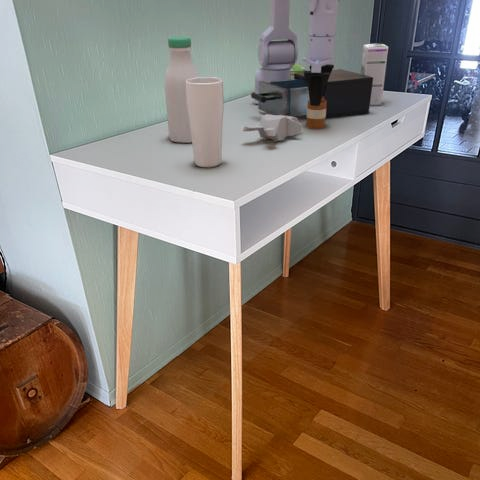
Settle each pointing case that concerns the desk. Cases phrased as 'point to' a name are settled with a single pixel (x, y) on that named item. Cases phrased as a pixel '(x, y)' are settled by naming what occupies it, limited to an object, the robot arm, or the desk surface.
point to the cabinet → (346, 93)
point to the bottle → (316, 115)
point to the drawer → (283, 97)
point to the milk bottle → (178, 88)
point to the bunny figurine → (276, 127)
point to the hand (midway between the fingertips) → (317, 101)
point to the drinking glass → (205, 119)
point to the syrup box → (375, 69)
